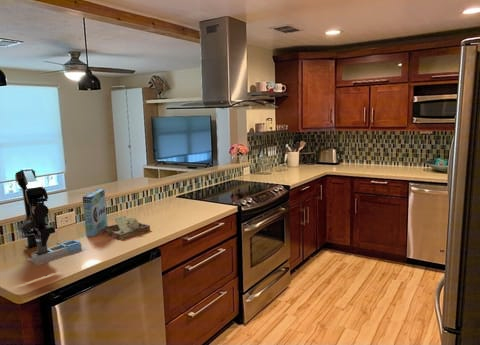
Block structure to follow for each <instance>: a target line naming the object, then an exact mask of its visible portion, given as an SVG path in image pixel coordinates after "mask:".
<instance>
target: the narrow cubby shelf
mask: <svg viewBox="0 0 480 345" xmlns="http://www.w3.org/2000/svg"><path fill="white" fill-rule="evenodd" d="M59 244H60V245H58V244H56V245H55V246H51V247H47V250H48V253H45V254H42V255H38V250H37V251H34V252H31V257H28V258H27V260H28V261H30V262H31V263H33V264H35V265H37V266H39V265H42V264H46V263H49V262H52V261H54V260H58V259H61V258H65V257H68V256H70V255H74V254H77V253H80V252H83V251H86V250H88V249H87V248H85V247H83V246H82V243H81V241H79V240H77V239H71V240H68V241H65V242H62V243H59Z"/></svg>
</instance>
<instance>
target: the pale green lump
mask: <svg viewBox="0 0 480 345" xmlns="http://www.w3.org/2000/svg"><path fill="white" fill-rule="evenodd" d="M114 221H115V223H116V224H117V225H118V226H119V229H118V230H119V231H120V233H125V232H128V231H132V230H135V229H138V228H139V223H140V222H139V221H138V220H137V219H136V217H133V216H132V217H129V218H127V216H126V215H120V216H117V217H115V218H114ZM138 222H139V223H138Z"/></svg>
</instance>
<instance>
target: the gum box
mask: <svg viewBox="0 0 480 345" xmlns="http://www.w3.org/2000/svg"><path fill="white" fill-rule="evenodd" d="M105 194H106V193H105V189H99V188H98V189H95V190H93V191H92V192H90V193H88V194H86V195H84V196H82V208H83V217H84V228H85V237H87V238H88V237H92V238H93V237H96V236H97V235H98V234H99V233H100V232H102V228H105V227H108V218H107V204H106V203H107V202H106V197H105V196H106V195H105Z"/></svg>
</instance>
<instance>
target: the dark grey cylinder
mask: <svg viewBox="0 0 480 345" xmlns="http://www.w3.org/2000/svg"><path fill="white" fill-rule="evenodd" d="M36 242H37V247H36V248H37V251H38V255H42V254H45V253H48V250H47V248H48V242H47V243H46V246H44V247H43V246H42V243H41V240H40V237H39V236H37V237H36Z"/></svg>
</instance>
